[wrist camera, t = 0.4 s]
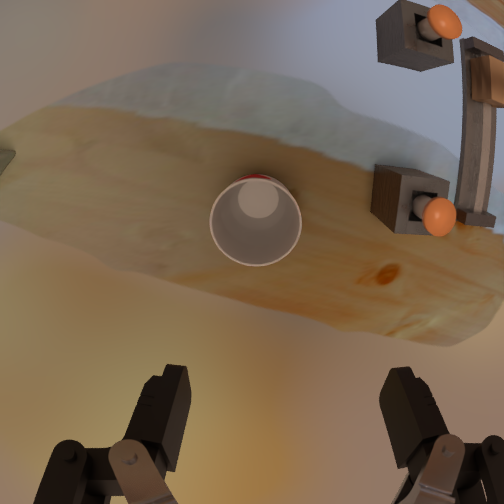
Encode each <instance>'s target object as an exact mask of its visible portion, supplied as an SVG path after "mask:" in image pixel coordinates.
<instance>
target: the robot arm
mask: <svg viewBox="0 0 504 504" xmlns="http://www.w3.org/2000/svg"><path fill="white" fill-rule="evenodd" d="M140 395H141V396H140V397H139V400H138V402H137V405H136V407H135V410H134V412H133V415H132V417H131V420H130V423H129V425H128V428H127V431H126V433H125V436H124V437H123V439H122V440H121V441H119V442H117V443H115V444H114V445H113V446H112V447H108V448H84V446H83V445H82V444H81V443H79V442H78V441H74V440H64V441H62V442H60V443H58V444H57V445H56V446H55V448H54V450H53V452H52V454H51V457H50V459H49V462H48V465H47V467H46V470H45V472H44V475H43V478H42V480H41V483H40V486H39V488H38V491H37V494H36V497H35V500H34V503H33V504H110V500H111V496H125V498H126V500H127V502H128V504H178V503H177V501H176V500H175V498H174V497H173V495H172V493H171V491H170V490H169V488H168V487H167V485H166V483H165V481H164V479H165V476H166V471H171V472H175V469H176V464H177V460H178V456H179V452H180V447H181V443H182V439H183V434H184V430H185V426H186V421H187V417H188V413H189V409H190V405H191V387H190V382H189V376H188V370H187V367H186V366H181V365H172V364H167V365H166V367H165V369H164V372H163V375H162V376H155V375H153V376H152V377H151V378H150V379H149V380H148V381H147V382H146V383H145V384H144V387H143V389H142V392H141V394H140ZM379 403H380V408H381V411H382V414H383V418H384V421H385V424H386V428H387V431H388V435H389V438H390V442H391V445H392V449H393V452H394V456H395V460H396V463H397V467H398V469H400V468H405V467H408V471H409V472H408V473H407V475H406V477H405V478H404V480H403V482H402V484H401V486H400V489H399V490H398V492H397V494H396V496H395V498H394V500H393V501H392V503H391V504H504V440H503V439H502V438H501V437H499V436H495V435H491V436H488V437H487V438H486V439H485V440H484V441H483V442H482V443H463V441H462V440H461V439H460V438H459V437H457V436H455V435H452V434H450V433H449V431H448V430H447V427H446V424H445V422H444V420H443V417H442V415H441V413H440V411H439V408H438V406H437V405H436V402H435V399H434V397H432V393H431V391H430V389H429V387H428V385H427V384H426V383H425V382H424V381H423V380H422V379H421V378H420V377H419V378H415V376H414V374H413V372H412V369H411V368H410V367H399V368H392V369H391V370H390V371H389V374H388V376H387V378H386V381H385V383H384V385H383V388H382V390H381V392H380V397H379ZM481 480H482V482H483V485H484V489H485V492H486V496H487V502H486V498H485V494H484V490H483V487H482V483H481Z"/></svg>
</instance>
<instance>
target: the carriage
mask: <svg viewBox="0 0 504 504" xmlns="http://www.w3.org/2000/svg"><path fill="white" fill-rule="evenodd" d="M470 63H471V81H472V100H475V101H478V102H485V103H488V104H491V107H493V108H504V62H502V61H500V60H498V59H496V58H494V57H492V56H490V55H486V56H481V57H477V58H472V59H470Z"/></svg>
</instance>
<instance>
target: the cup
mask: <svg viewBox="0 0 504 504" xmlns="http://www.w3.org/2000/svg"><path fill="white" fill-rule="evenodd" d="M301 228H302V218H301V213H300V209H299V207H298V204H297V202H296V201H295V199H294V198H293V196H292V195H291V193H290V192H289V191H288V189H287V188H286V187H285V186H284V185H283V184H282V183H281V182H280V181H278V180H276V179H275V178H272V177H270V176H267V175H261V174H252V175H247V176H244V177H241V178H239V179H237V180H236V181H234V182H233V183H232V184H230V185H229V186H228V187H227V188H226V189H225V190H224V191H223V192H222V193H221V194H220V195H219V196H218V198H217V199H216V201H215V203H214V205H213V207H212V210H211V214H210V230H211V234H212V237H213V239H214V242H215V243H216V245H217V246H218V248H219V249H220V250H221V251H222V252H223V253H224V254H225V255H226V256H227V257H229V258H230V259H232V260H233V261H235V262H238V263H240V264H243V265H248V266H265V265H269V264H272V263H275V262H277V261H279V260H281V259H282V258H284V257H285V256H286V255H288V254H289V253H290V252H291V250H292V249H293V248H294V247H295V245H296V243H297V241H298V239H299V237H300V233H301Z"/></svg>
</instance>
